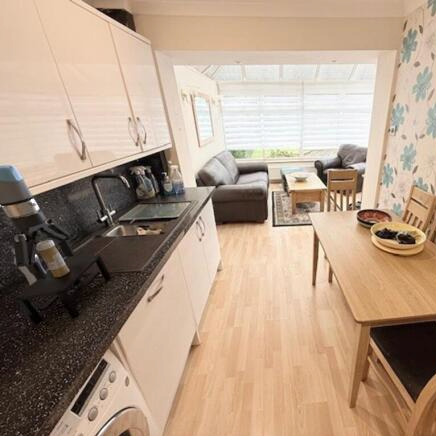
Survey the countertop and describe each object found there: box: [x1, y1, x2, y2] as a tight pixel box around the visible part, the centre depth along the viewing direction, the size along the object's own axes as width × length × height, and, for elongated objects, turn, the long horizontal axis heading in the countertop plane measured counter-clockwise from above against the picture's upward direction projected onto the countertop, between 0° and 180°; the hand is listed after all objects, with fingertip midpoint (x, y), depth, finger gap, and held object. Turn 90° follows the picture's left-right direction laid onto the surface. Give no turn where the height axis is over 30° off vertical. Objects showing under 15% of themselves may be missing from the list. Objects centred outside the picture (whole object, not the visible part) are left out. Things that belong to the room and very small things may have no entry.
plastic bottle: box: [11, 247, 47, 286], centre depth 96 cm, size 6×7×20 cm
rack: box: [14, 254, 112, 325], centre depth 91 cm, size 14×22×12 cm, turn 8°
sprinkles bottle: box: [36, 239, 69, 277], centre depth 85 cm, size 5×5×14 cm
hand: (57, 266), depth 87 cm, fingers open, 13 cm apart
